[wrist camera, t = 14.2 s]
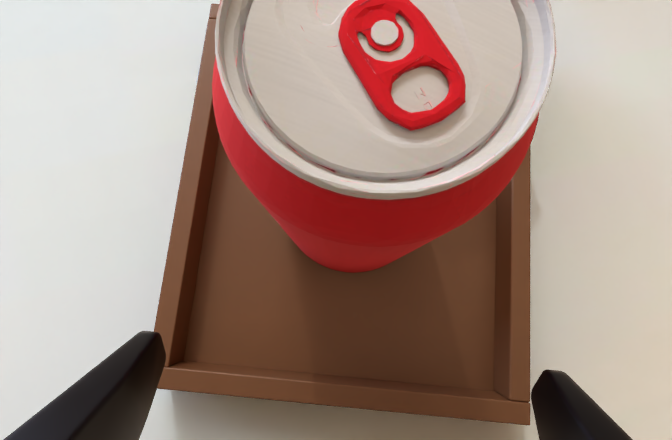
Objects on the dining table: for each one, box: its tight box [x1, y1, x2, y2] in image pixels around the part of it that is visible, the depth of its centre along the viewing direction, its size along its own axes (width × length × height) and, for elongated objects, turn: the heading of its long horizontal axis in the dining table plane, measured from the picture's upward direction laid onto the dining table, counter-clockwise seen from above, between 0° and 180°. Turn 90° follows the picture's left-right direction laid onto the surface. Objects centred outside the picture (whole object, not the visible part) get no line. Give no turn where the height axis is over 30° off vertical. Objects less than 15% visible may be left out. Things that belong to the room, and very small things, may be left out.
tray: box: [154, 4, 530, 425], centre depth 17 cm, size 17×15×2 cm
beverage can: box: [212, 0, 556, 273], centre depth 12 cm, size 6×6×12 cm
